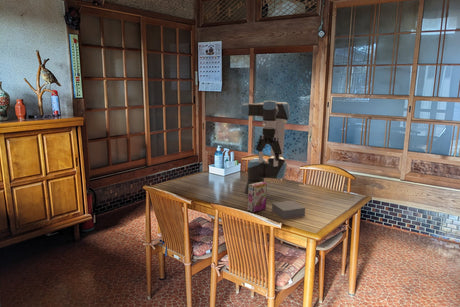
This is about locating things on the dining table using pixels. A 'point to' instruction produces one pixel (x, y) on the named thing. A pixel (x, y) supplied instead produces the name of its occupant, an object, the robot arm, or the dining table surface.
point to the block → (288, 209)
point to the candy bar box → (257, 196)
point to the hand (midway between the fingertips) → (267, 164)
